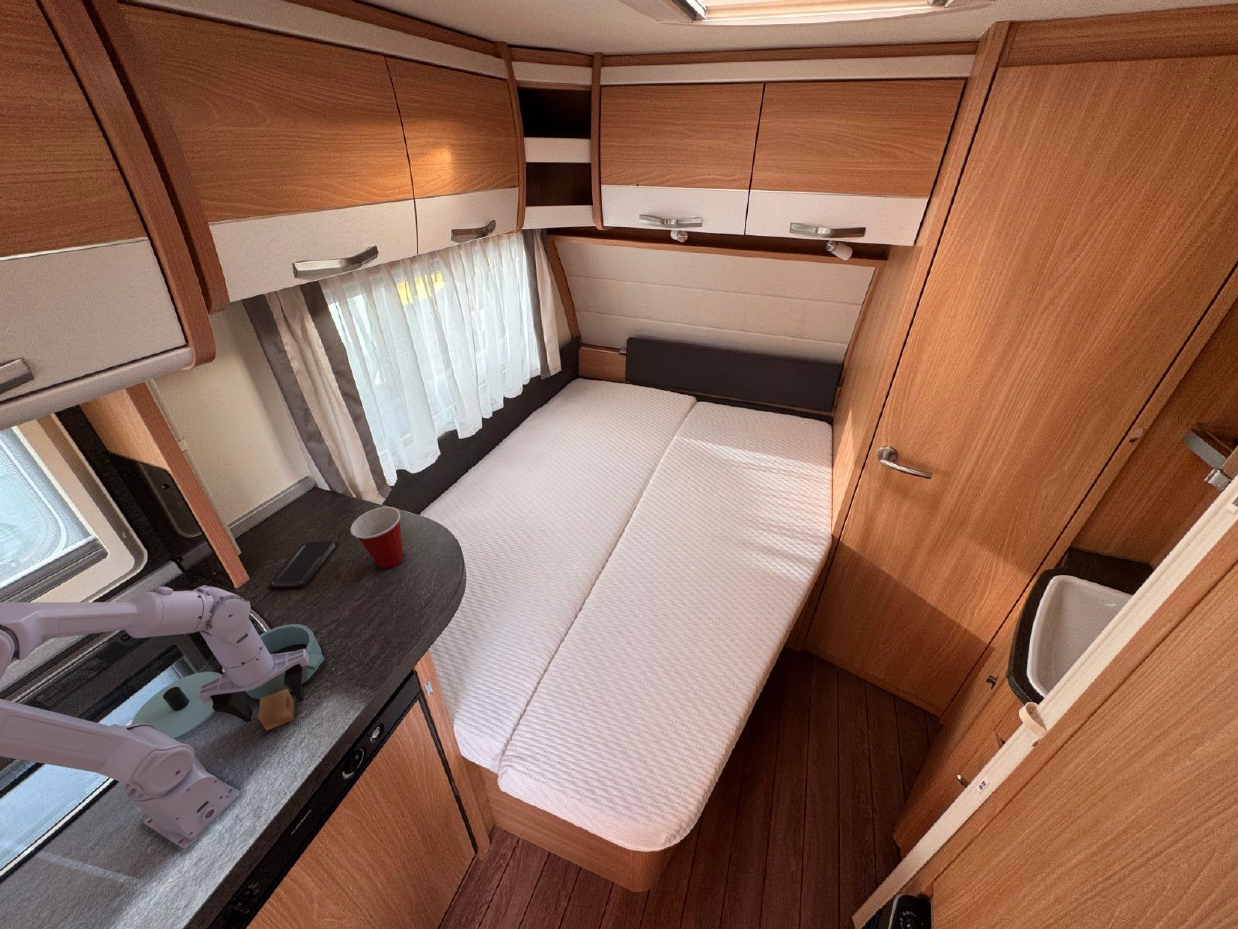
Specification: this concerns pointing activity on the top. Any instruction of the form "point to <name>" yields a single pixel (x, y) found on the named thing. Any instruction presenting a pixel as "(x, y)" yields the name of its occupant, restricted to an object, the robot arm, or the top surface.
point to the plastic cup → (380, 535)
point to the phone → (303, 564)
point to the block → (276, 709)
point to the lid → (178, 706)
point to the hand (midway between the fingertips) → (275, 706)
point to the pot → (282, 639)
